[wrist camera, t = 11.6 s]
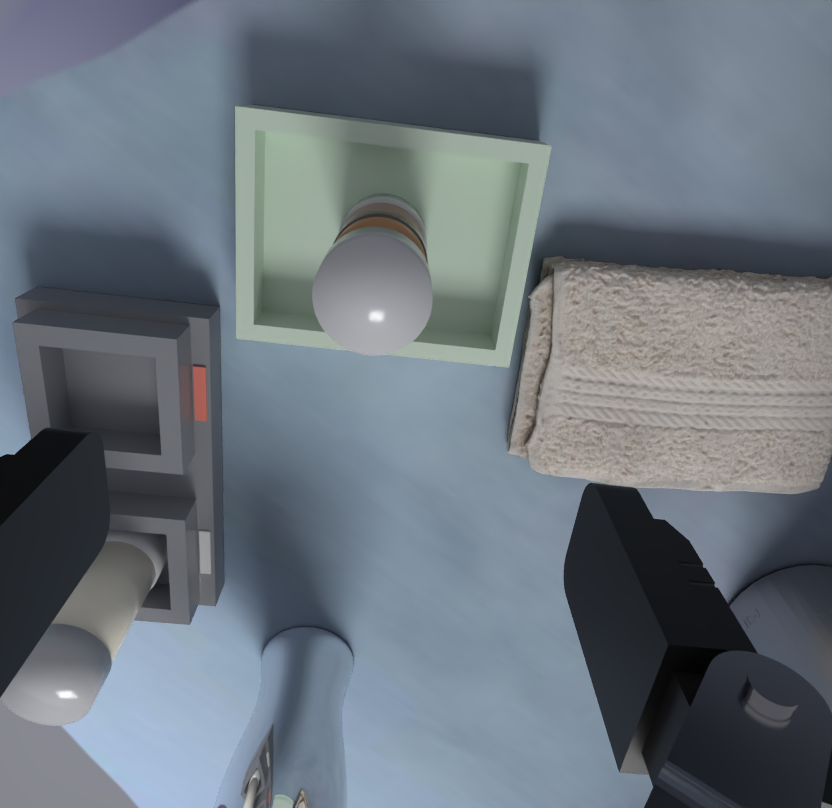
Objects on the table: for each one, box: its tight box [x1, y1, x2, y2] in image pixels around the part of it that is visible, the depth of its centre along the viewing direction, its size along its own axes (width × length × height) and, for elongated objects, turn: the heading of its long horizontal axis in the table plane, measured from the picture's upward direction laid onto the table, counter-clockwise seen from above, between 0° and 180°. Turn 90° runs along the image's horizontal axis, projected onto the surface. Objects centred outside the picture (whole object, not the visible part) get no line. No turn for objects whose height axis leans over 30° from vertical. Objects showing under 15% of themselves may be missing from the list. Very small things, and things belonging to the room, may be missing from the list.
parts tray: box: [235, 105, 552, 368], centre depth 30 cm, size 13×10×3 cm
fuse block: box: [13, 287, 224, 625], centre depth 35 cm, size 9×18×4 cm, turn 173°
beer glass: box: [214, 627, 354, 808], centre depth 37 cm, size 7×7×15 cm
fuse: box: [0, 530, 168, 725], centre depth 32 cm, size 4×4×10 cm
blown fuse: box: [312, 194, 433, 355], centre depth 26 cm, size 4×4×10 cm
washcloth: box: [507, 256, 832, 494], centre depth 34 cm, size 12×18×3 cm, turn 87°
